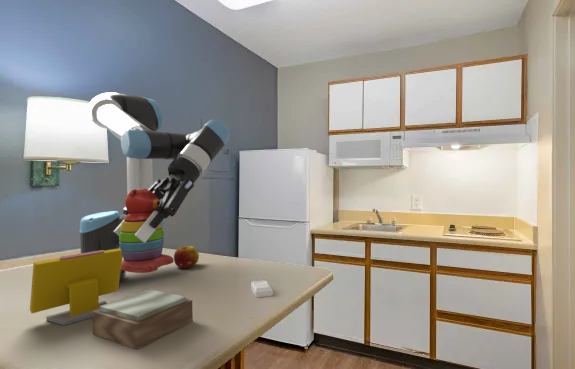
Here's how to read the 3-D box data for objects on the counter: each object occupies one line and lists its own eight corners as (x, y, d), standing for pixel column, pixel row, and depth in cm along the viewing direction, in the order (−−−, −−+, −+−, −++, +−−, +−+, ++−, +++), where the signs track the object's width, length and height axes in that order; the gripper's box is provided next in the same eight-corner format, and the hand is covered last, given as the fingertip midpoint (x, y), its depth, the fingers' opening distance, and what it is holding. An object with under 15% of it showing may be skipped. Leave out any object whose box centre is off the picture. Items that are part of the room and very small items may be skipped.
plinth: (92, 334, 75) (92, 307, 75) (150, 310, 88) (149, 287, 88) (137, 349, 67) (136, 319, 67) (192, 321, 80) (192, 296, 80)
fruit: (168, 269, 130) (168, 248, 130) (182, 263, 139) (182, 244, 139) (190, 270, 127) (190, 249, 127) (203, 264, 136) (202, 245, 136)
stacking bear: (150, 273, 71) (147, 188, 71) (107, 272, 73) (105, 189, 73) (176, 261, 81) (174, 187, 81) (139, 260, 83) (137, 188, 83)
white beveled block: (255, 298, 96) (255, 289, 96) (251, 289, 105) (250, 280, 105) (272, 296, 98) (272, 287, 98) (266, 287, 106) (266, 279, 106)
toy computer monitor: (116, 300, 96) (114, 245, 96) (129, 306, 91) (127, 248, 91) (30, 324, 81) (28, 258, 81) (40, 333, 76) (38, 263, 76)
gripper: (224, 175, 82) (167, 252, 70) (174, 177, 96) (118, 242, 84) (206, 152, 78) (141, 229, 66) (156, 158, 92) (94, 223, 79)
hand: (128, 236), depth 75 cm, fingers closed on stacking bear, 9 cm apart
